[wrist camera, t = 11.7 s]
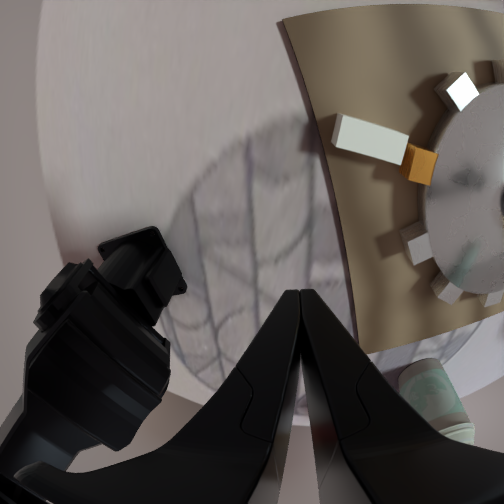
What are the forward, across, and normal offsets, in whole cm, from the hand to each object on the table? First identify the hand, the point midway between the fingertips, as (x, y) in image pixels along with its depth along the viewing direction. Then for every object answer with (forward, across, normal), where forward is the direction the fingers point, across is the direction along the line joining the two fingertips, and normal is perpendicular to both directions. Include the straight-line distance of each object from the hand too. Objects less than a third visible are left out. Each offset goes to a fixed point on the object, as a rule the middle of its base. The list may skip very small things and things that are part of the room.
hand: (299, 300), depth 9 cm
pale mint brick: (+13, -5, -3) cm, 14 cm away
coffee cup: (+13, -16, +24) cm, 32 cm away
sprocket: (+13, -18, +1) cm, 22 cm away
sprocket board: (+13, -18, +1) cm, 22 cm away
